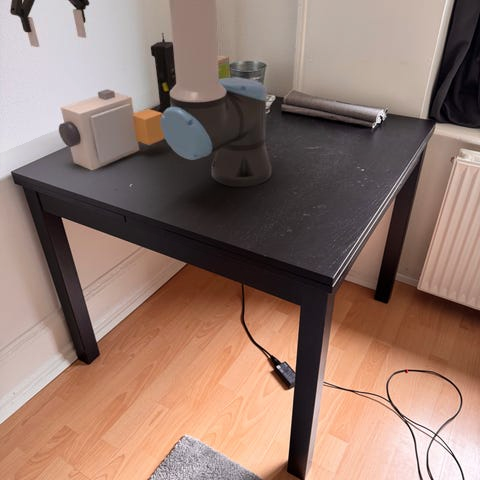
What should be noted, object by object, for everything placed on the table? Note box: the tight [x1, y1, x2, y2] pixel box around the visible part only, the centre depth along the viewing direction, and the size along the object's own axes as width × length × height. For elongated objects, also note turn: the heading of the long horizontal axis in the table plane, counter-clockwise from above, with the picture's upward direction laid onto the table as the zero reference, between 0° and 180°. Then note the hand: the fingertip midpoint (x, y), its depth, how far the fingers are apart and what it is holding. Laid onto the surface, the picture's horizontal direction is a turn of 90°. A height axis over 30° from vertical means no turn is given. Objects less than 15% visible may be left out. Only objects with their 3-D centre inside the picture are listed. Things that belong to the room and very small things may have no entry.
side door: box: [90, 104, 166, 163], centre depth 118 cm, size 6×18×12 cm, turn 142°
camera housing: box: [58, 89, 140, 171], centre depth 119 cm, size 9×18×16 cm, turn 142°
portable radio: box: [150, 32, 176, 113], centre depth 142 cm, size 8×6×25 cm
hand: (59, 41), depth 116 cm, fingers open, 13 cm apart
